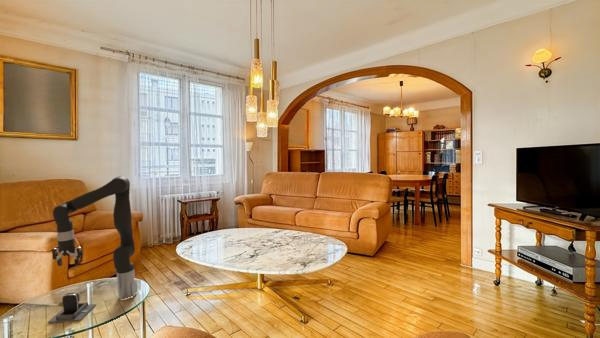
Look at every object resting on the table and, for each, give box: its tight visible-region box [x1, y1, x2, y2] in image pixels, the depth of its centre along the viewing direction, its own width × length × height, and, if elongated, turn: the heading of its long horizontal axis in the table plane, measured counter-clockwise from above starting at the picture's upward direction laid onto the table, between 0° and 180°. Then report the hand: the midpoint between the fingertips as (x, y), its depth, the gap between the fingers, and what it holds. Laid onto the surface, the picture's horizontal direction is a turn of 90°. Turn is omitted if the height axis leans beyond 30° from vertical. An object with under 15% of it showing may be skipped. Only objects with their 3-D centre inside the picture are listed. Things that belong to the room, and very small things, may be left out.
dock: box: [47, 301, 97, 324], centre depth 158 cm, size 16×14×3 cm
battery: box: [62, 292, 80, 315], centre depth 157 cm, size 7×4×11 cm, turn 100°
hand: (68, 265), depth 163 cm, fingers open, 8 cm apart
